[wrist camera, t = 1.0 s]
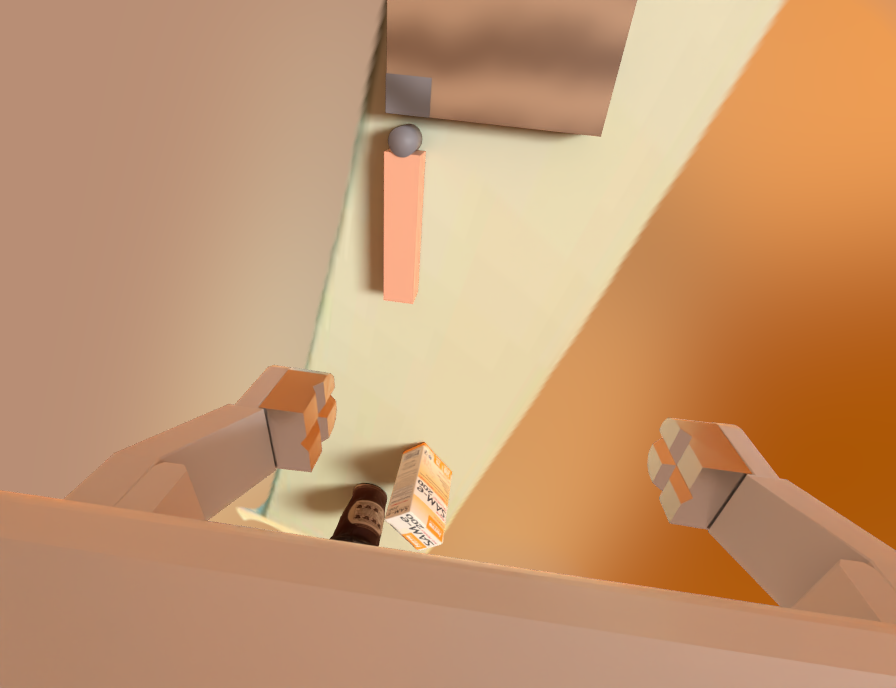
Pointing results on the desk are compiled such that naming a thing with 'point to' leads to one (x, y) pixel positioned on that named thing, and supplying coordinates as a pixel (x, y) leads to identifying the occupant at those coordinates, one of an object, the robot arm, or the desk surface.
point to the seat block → (506, 61)
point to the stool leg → (403, 213)
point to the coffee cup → (363, 516)
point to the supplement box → (420, 498)
